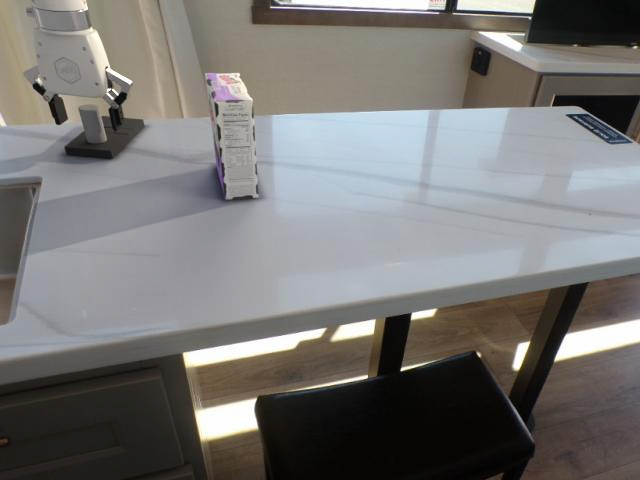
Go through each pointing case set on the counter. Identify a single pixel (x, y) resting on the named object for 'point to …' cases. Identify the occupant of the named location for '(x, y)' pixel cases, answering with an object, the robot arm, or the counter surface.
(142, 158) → the counter surface
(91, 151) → the pad
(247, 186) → the candy box
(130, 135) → the notch pad
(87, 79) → the robot arm
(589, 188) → the counter surface
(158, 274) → the counter surface
